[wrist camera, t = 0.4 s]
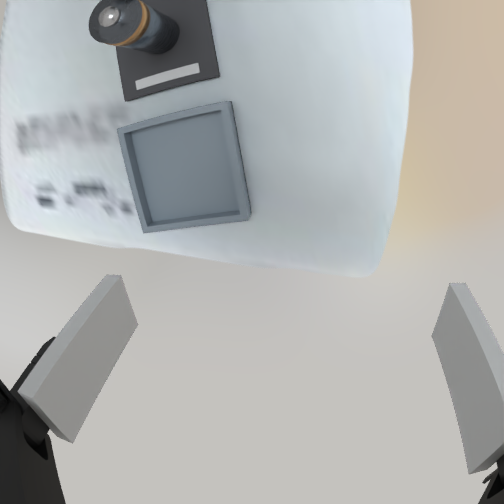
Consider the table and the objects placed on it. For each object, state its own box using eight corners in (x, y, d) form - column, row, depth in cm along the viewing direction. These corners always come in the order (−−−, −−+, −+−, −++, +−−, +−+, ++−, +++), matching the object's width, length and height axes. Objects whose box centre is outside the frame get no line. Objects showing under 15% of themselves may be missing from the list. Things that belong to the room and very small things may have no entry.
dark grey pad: (112, 6, 28) (109, 5, 28) (201, -25, 26) (199, -27, 25) (127, 101, 34) (124, 101, 33) (219, 76, 32) (218, 75, 31)
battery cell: (137, 24, 29) (82, 5, 19) (176, 11, 28) (130, -18, 18) (143, 60, 31) (87, 50, 21) (183, 47, 30) (136, 29, 20)
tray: (126, 126, 36) (116, 128, 33) (231, 101, 33) (226, 101, 31) (151, 225, 41) (143, 233, 39) (251, 213, 39) (248, 220, 37)
